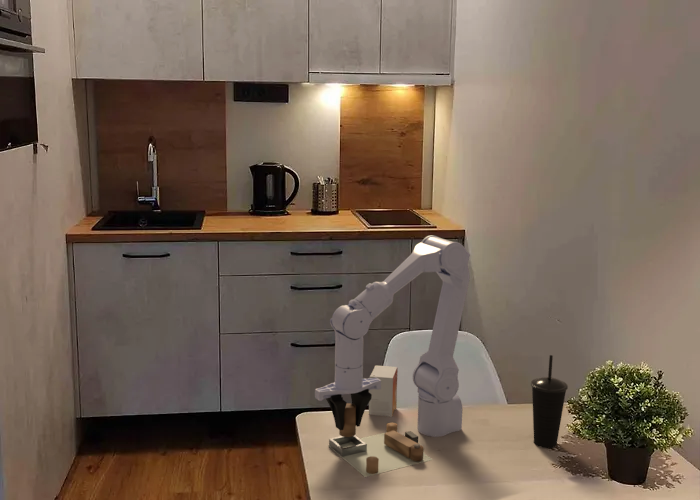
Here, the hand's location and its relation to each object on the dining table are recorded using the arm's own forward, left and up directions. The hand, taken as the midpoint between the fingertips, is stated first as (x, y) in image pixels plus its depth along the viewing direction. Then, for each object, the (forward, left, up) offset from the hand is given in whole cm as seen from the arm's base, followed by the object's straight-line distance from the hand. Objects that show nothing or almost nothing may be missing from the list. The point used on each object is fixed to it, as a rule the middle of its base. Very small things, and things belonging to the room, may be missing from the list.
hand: (347, 426), depth 165 cm
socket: (0, 0, -5) cm, 5 cm away
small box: (-18, -15, -6) cm, 24 cm away
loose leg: (0, 0, -2) cm, 2 cm away
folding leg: (-10, +7, -5) cm, 13 cm away
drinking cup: (-41, +15, -6) cm, 44 cm away
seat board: (-5, +5, -6) cm, 9 cm away
